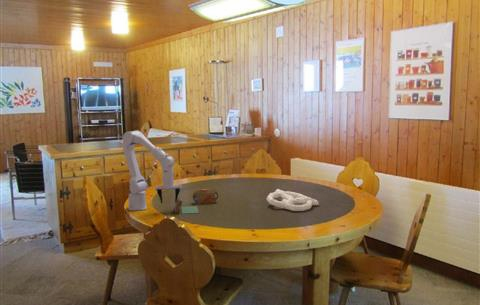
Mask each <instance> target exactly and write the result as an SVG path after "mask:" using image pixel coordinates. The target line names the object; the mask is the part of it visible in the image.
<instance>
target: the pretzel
mask: <svg viewBox="0 0 480 305" xmlns="http://www.w3.org/2000/svg"><path fill="white" fill-rule="evenodd" d="M276 198H281V199H282V200H277V199H276ZM266 201H267V202H268V203H269V204H270V205H271V206H274V207H277V208H281V209H282V210H283V209H285V210H290V211H293V212H305V211H308V210H311V208H312V207H313V206H315V205H316V206H318V205H319V204H320V203H319V202H320V201H318V199H315V198H311V196H307V195H304V193H302V194H301V193H299V192H294V191H290V190H287V191H286V190H283V189H282V190H281V189H280V188H277V189H276V190H275V191H274V192H270V193H269V194H268V195H267V197H266Z"/></svg>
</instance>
